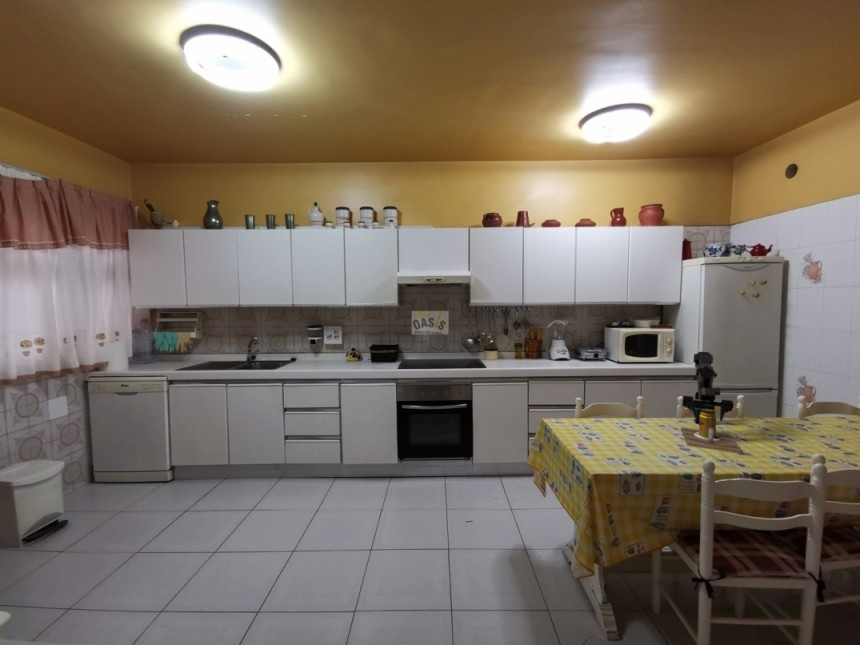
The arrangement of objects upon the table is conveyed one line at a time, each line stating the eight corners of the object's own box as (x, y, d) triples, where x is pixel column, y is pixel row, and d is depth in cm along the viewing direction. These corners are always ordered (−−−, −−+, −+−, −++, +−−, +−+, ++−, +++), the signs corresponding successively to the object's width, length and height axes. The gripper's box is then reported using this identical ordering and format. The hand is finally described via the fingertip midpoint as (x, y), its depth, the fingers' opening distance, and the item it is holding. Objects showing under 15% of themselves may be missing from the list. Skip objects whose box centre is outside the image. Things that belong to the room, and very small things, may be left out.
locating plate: (680, 429, 181) (681, 415, 180) (727, 435, 172) (727, 420, 172) (687, 445, 161) (688, 429, 161) (740, 453, 153) (740, 436, 152)
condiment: (694, 433, 172) (695, 407, 171) (713, 433, 172) (714, 407, 171) (704, 438, 165) (706, 412, 164) (724, 439, 164) (726, 412, 164)
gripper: (683, 378, 175) (685, 407, 166) (733, 382, 166) (738, 413, 157) (681, 391, 182) (682, 419, 174) (729, 396, 173) (733, 426, 164)
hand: (708, 419), depth 167 cm, fingers open, 9 cm apart
